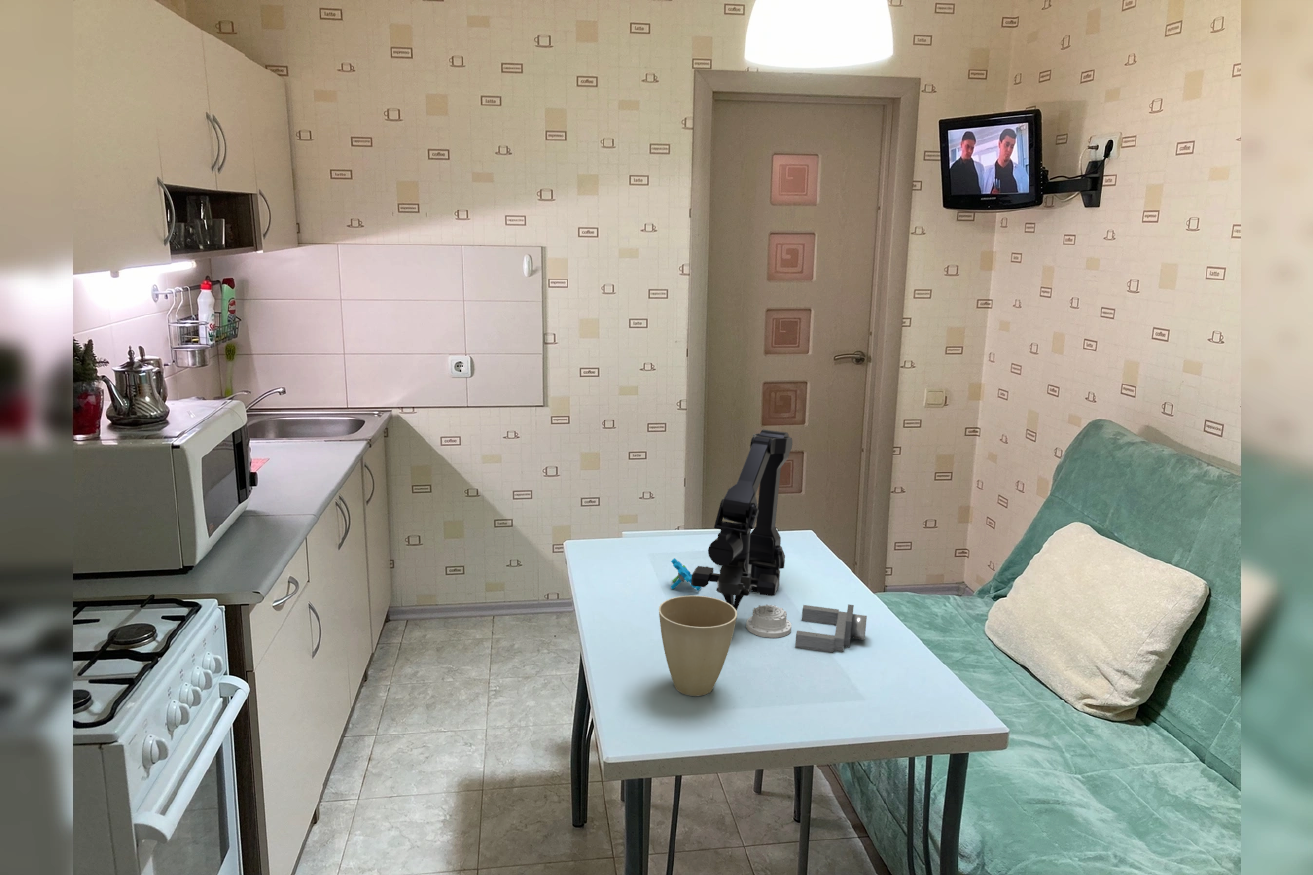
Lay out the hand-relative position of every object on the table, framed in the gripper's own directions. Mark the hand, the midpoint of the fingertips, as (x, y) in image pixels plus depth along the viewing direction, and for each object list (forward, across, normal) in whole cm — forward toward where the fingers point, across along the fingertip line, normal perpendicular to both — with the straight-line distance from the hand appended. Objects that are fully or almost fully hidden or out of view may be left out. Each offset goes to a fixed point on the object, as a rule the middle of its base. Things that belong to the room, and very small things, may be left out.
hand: (732, 616), depth 206 cm
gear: (+2, -14, +16) cm, 22 cm away
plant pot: (+2, -2, -31) cm, 31 cm away
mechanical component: (+2, +8, 0) cm, 8 cm away
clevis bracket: (+1, +22, 0) cm, 22 cm away
